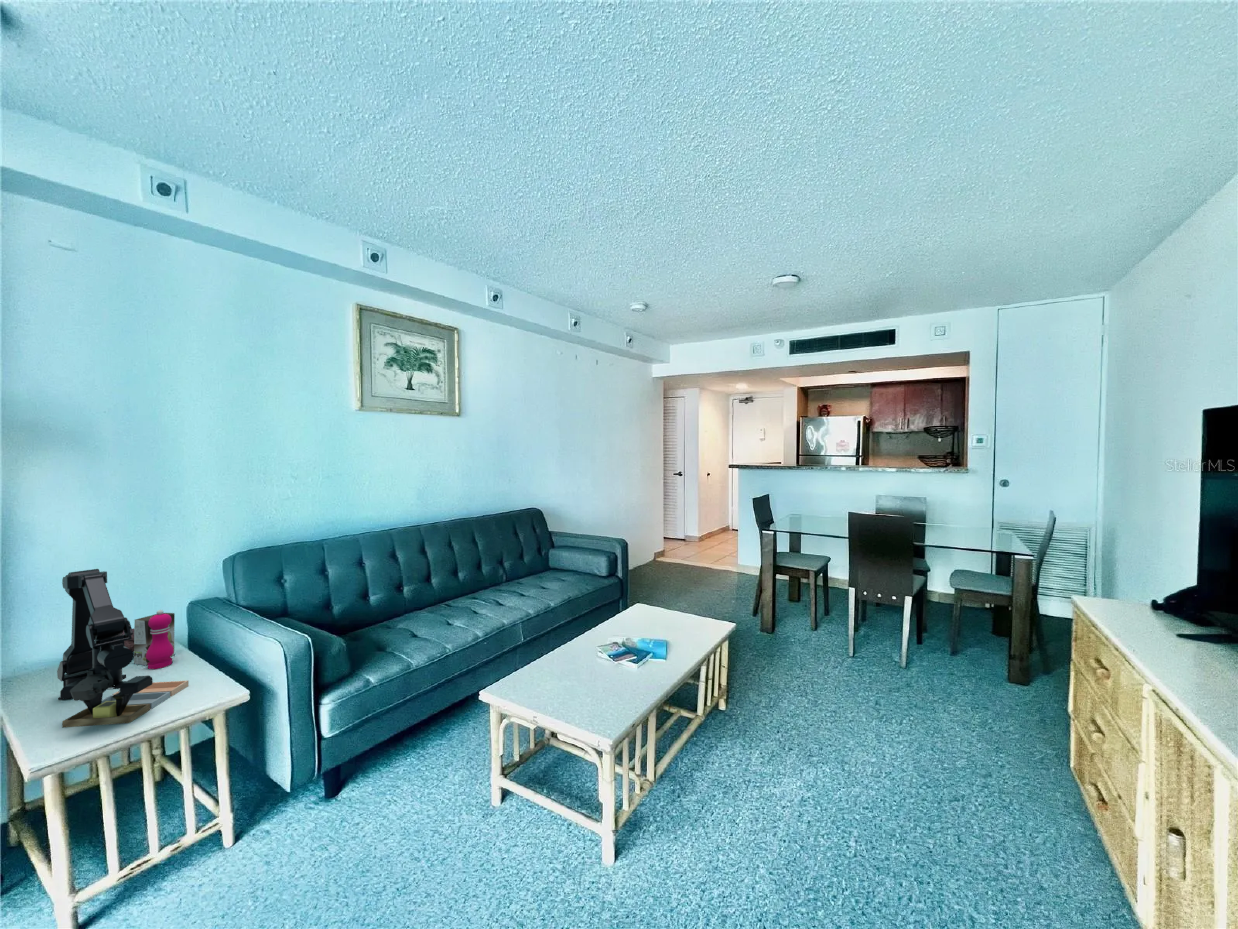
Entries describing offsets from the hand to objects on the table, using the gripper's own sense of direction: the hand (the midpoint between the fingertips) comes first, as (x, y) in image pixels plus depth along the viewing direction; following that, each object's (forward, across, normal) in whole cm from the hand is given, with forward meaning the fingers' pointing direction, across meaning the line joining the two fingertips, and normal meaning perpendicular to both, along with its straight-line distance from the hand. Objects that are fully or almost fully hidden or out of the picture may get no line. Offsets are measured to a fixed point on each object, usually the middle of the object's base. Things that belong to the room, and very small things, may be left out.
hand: (107, 716), depth 134 cm
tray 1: (+1, 0, 0) cm, 1 cm away
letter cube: (0, 0, 0) cm, 0 cm away
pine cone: (+1, -34, +50) cm, 60 cm away
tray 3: (+1, 0, +15) cm, 15 cm away
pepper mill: (+1, -14, +38) cm, 41 cm away
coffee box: (+1, -20, +44) cm, 48 cm away
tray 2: (+1, 0, +8) cm, 8 cm away
